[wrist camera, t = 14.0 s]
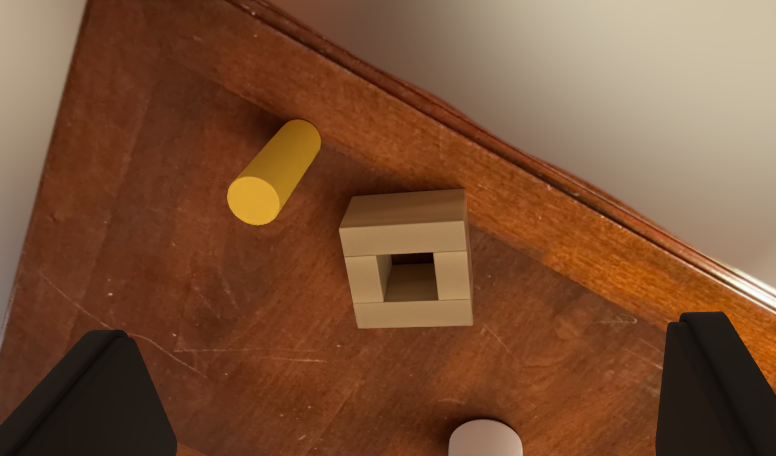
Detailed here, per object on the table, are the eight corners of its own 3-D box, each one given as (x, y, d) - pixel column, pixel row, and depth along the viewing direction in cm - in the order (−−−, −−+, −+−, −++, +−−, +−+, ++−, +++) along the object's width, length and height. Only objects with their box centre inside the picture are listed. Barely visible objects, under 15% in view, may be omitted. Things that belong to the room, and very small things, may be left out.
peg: (275, 121, 41) (220, 178, 32) (316, 117, 40) (272, 174, 31) (284, 161, 42) (234, 226, 33) (324, 158, 42) (284, 223, 33)
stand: (352, 195, 43) (338, 228, 38) (465, 187, 41) (464, 220, 37) (369, 289, 46) (357, 328, 42) (473, 285, 45) (473, 325, 41)
